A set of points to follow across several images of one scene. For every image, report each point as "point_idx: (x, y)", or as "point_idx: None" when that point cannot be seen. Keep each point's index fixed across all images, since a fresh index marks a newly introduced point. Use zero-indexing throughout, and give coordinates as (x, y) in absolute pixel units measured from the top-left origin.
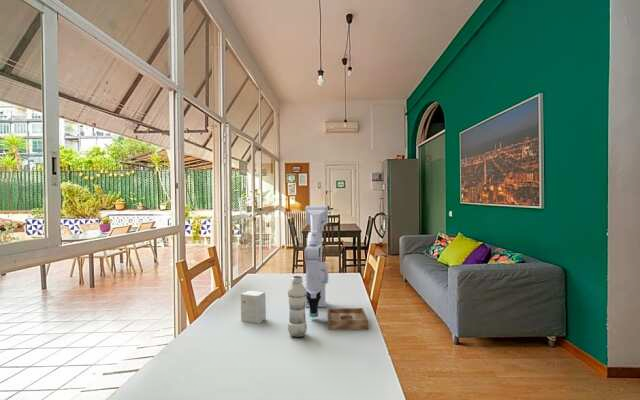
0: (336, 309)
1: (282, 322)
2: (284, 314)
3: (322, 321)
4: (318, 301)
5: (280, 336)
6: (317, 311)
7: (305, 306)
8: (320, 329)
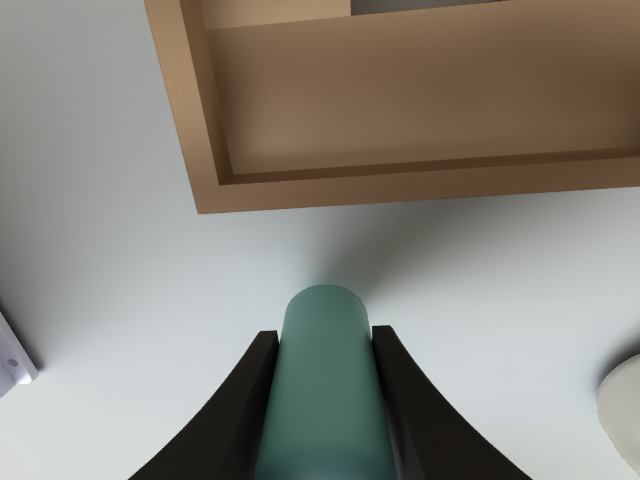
0: (198, 77)
1: None
2: None
3: (373, 229)
4: (514, 466)
5: None
6: (350, 323)
7: (35, 377)
8: (578, 236)
